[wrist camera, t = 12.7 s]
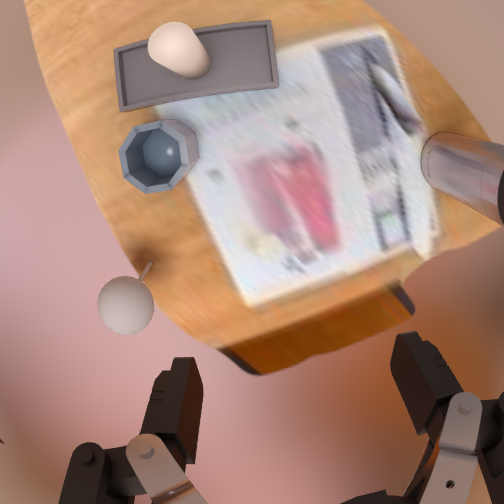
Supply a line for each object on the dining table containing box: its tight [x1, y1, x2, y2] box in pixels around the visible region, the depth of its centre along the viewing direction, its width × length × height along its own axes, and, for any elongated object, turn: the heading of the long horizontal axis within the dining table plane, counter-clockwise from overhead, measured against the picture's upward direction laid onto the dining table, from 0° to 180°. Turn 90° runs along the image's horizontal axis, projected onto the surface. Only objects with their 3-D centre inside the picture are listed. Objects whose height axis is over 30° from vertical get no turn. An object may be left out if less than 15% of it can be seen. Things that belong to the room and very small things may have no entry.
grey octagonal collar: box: [119, 120, 199, 194], centre depth 35 cm, size 8×8×7 cm
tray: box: [113, 20, 279, 112], centre depth 32 cm, size 20×9×2 cm, turn 96°
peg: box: [148, 22, 211, 80], centre depth 27 cm, size 4×4×12 cm
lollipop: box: [98, 261, 154, 335], centre depth 38 cm, size 7×7×15 cm
